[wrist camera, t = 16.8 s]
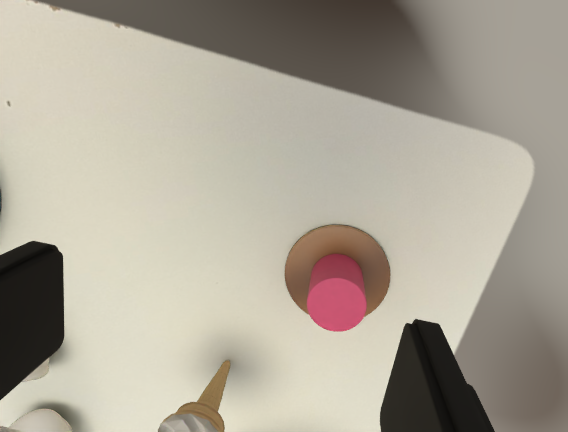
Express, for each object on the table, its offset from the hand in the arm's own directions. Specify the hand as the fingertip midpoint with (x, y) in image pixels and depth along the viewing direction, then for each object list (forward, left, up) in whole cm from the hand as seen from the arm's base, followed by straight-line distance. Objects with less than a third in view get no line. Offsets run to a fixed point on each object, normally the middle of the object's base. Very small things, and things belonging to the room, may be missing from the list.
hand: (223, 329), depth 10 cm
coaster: (+8, -2, -23) cm, 24 cm away
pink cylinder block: (+9, -2, -22) cm, 24 cm away
